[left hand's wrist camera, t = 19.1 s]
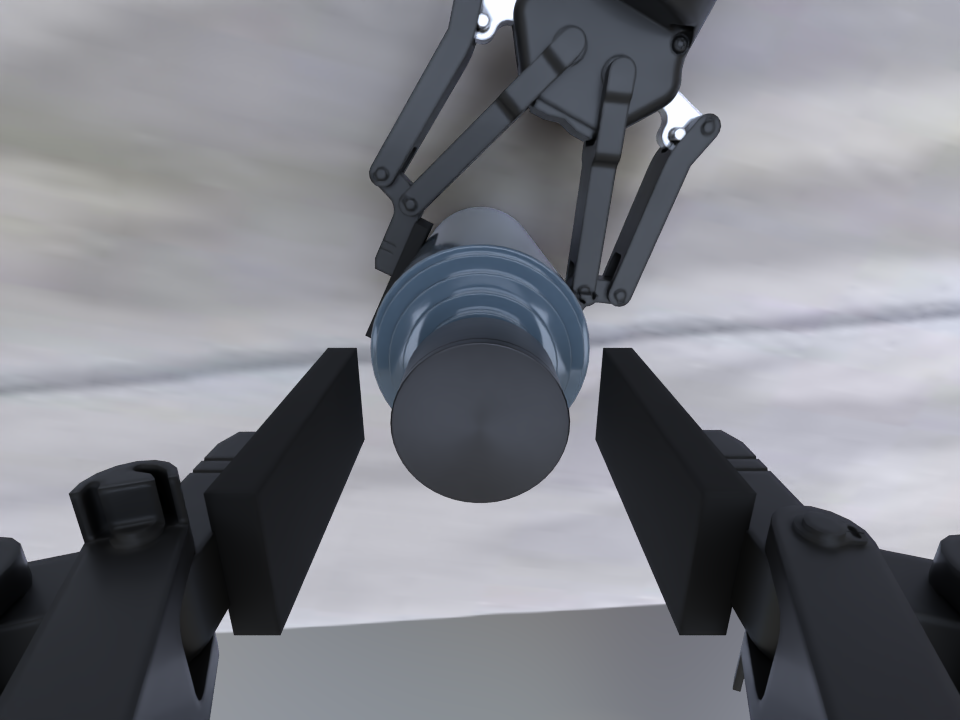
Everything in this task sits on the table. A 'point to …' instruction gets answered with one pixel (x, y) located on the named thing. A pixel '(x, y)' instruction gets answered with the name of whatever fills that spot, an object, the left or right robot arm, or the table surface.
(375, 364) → the bottle
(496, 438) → the cap
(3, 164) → the table surface
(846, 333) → the table surface
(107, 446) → the table surface
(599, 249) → the right robot arm
